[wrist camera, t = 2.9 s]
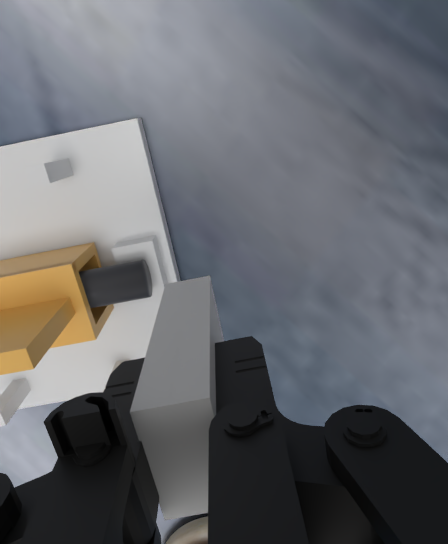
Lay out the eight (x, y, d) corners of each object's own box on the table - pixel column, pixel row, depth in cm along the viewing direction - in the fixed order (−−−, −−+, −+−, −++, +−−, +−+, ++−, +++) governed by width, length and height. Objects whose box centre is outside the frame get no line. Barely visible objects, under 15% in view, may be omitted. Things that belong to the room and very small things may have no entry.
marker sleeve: (93, 242, 21) (25, 307, 13) (114, 307, 22) (61, 400, 15) (-3, 261, 21) (-123, 335, 14) (22, 324, 22) (-76, 425, 15)
